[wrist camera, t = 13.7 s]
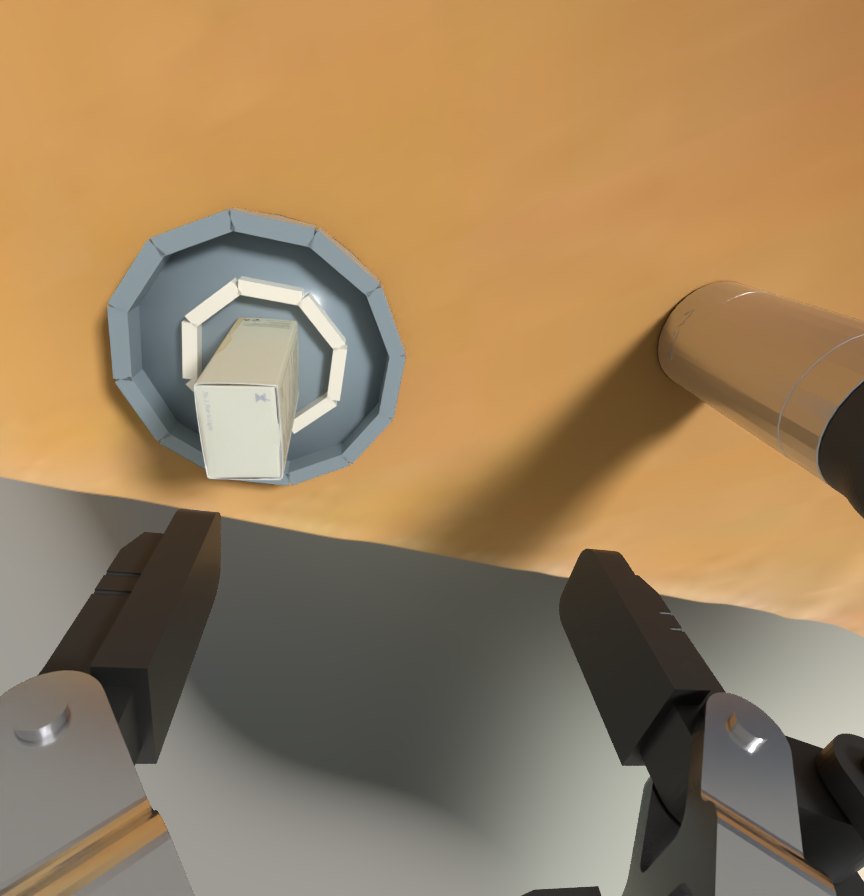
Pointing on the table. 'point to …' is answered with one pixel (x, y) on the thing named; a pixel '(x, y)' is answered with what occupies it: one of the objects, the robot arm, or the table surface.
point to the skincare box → (249, 400)
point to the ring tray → (258, 296)
